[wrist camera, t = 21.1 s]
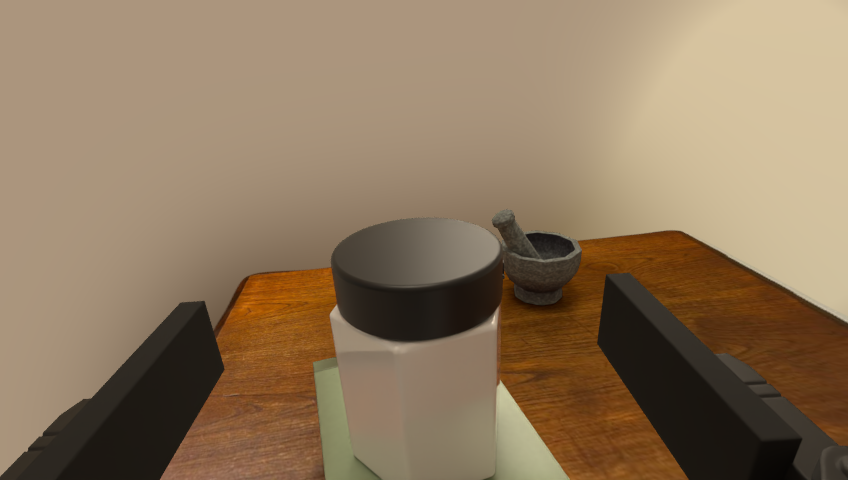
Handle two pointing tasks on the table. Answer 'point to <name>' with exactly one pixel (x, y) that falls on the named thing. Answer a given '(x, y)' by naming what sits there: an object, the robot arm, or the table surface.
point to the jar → (420, 347)
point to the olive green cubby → (347, 476)
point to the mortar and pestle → (536, 260)
